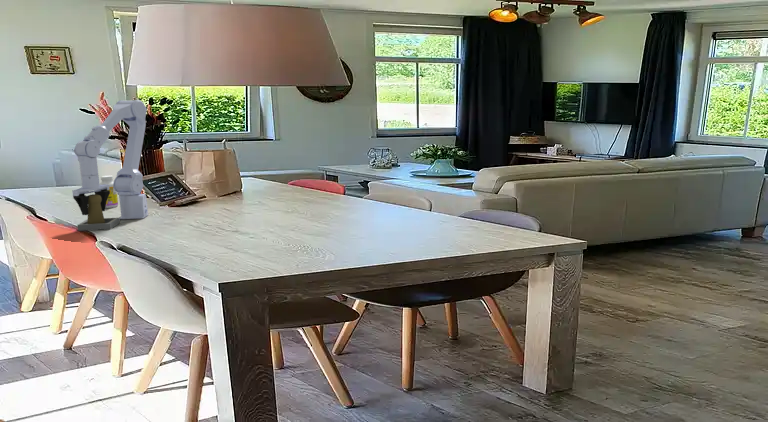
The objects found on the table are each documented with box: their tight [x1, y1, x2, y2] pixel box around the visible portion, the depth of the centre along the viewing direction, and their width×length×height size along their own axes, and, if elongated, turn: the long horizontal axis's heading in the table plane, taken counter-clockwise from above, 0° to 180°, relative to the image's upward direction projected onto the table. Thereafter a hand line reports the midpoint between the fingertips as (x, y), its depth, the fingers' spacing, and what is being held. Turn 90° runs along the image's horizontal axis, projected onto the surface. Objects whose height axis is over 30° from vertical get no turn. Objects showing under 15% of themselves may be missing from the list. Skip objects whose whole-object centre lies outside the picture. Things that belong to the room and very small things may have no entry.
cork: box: [87, 193, 105, 224], centre depth 245 cm, size 6×6×11 cm
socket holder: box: [77, 217, 121, 232], centre depth 245 cm, size 11×11×2 cm
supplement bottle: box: [99, 175, 119, 209], centre depth 285 cm, size 7×7×13 cm
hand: (93, 212), depth 246 cm, fingers open, 7 cm apart
